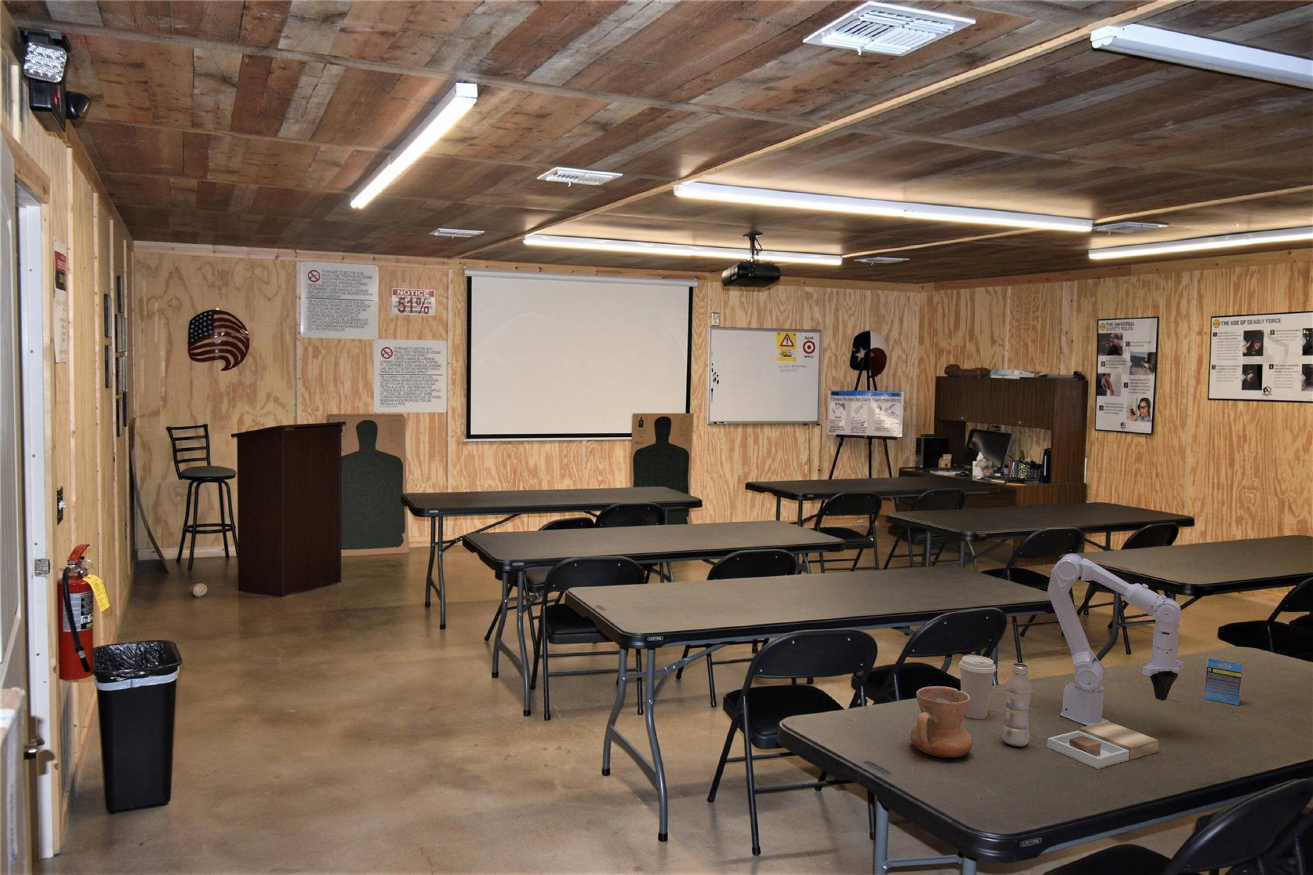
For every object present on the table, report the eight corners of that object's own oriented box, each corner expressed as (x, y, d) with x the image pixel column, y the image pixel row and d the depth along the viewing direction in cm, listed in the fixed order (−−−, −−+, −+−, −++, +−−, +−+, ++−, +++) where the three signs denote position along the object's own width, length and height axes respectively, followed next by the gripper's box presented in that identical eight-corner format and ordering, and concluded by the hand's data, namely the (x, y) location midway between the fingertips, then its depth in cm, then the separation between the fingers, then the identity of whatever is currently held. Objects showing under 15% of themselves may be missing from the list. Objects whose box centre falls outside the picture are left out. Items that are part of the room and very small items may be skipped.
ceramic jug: (936, 733, 250) (938, 678, 248) (987, 752, 238) (989, 694, 237) (891, 751, 238) (893, 693, 237) (942, 771, 227) (945, 711, 226)
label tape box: (1239, 702, 283) (1243, 660, 282) (1239, 706, 280) (1242, 663, 279) (1204, 695, 288) (1208, 654, 287) (1203, 699, 284) (1207, 657, 283)
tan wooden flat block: (1079, 739, 250) (1080, 727, 249) (1106, 732, 255) (1107, 720, 255) (1130, 759, 238) (1131, 747, 237) (1157, 751, 243) (1158, 739, 243)
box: (1047, 747, 243) (1047, 737, 243) (1077, 739, 249) (1078, 730, 249) (1097, 768, 231) (1098, 758, 231) (1128, 760, 237) (1129, 750, 237)
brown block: (1083, 735, 243) (1082, 747, 243) (1069, 738, 241) (1068, 750, 241) (1101, 742, 239) (1100, 754, 239) (1087, 746, 236) (1086, 758, 236)
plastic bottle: (1028, 741, 247) (1033, 663, 245) (1029, 751, 240) (1034, 670, 239) (1000, 737, 249) (1006, 659, 247) (1000, 746, 243) (1006, 667, 241)
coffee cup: (953, 717, 262) (957, 661, 261) (957, 706, 271) (960, 652, 270) (991, 723, 258) (995, 667, 257) (994, 711, 267) (997, 657, 266)
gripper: (1162, 654, 246) (1158, 708, 247) (1196, 648, 253) (1192, 699, 254) (1136, 647, 252) (1132, 699, 253) (1170, 640, 259) (1166, 691, 260)
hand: (1160, 699), depth 254 cm, fingers closed
